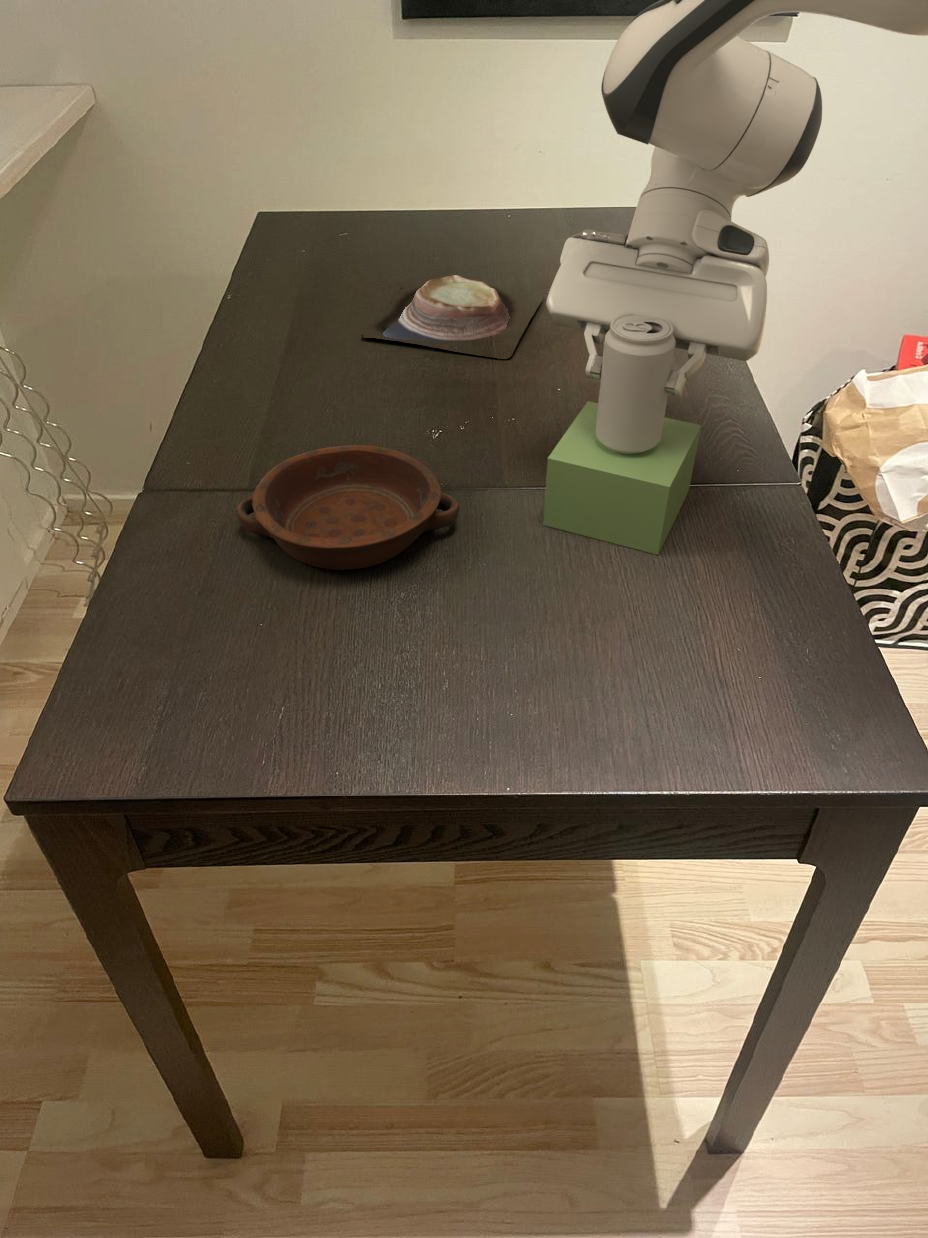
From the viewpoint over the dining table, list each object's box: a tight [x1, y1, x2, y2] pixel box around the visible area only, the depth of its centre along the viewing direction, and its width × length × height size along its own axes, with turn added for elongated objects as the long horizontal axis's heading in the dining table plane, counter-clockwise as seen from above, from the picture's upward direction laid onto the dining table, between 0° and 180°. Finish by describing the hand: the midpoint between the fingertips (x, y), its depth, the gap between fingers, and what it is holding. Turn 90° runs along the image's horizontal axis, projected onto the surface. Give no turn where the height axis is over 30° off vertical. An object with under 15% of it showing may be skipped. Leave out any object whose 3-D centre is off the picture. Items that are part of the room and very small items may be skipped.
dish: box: [236, 444, 460, 571], centre depth 94 cm, size 18×22×5 cm
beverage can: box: [596, 313, 676, 454], centre depth 90 cm, size 6×6×12 cm
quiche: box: [383, 274, 510, 342], centre depth 131 cm, size 21×20×4 cm
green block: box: [542, 400, 702, 556], centre depth 96 cm, size 12×12×8 cm
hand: (632, 384), depth 89 cm, fingers closed on beverage can, 6 cm apart
